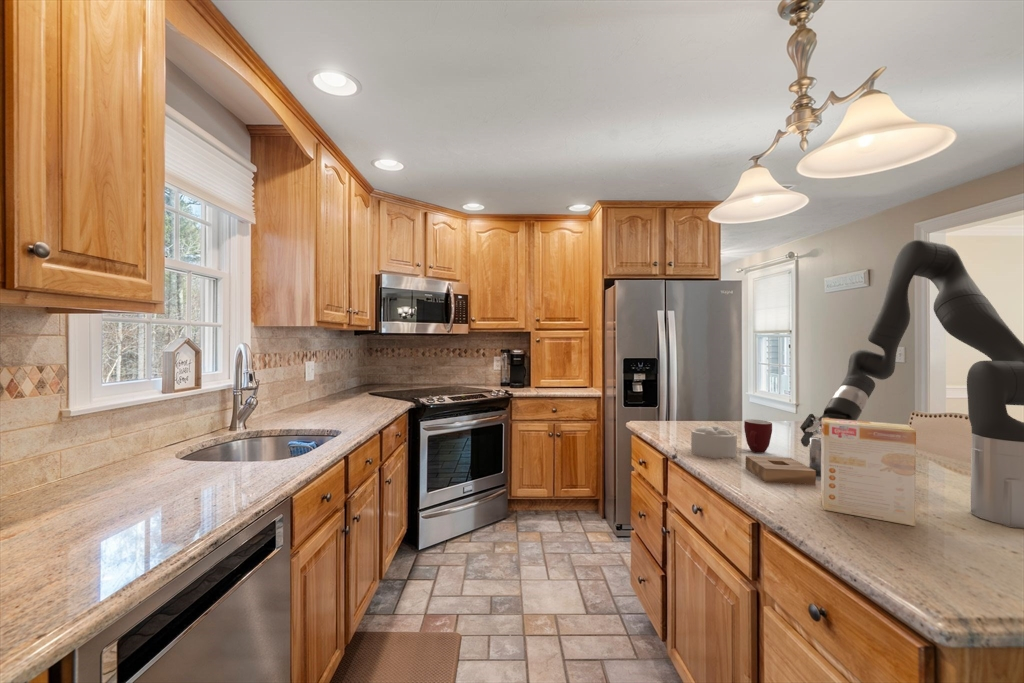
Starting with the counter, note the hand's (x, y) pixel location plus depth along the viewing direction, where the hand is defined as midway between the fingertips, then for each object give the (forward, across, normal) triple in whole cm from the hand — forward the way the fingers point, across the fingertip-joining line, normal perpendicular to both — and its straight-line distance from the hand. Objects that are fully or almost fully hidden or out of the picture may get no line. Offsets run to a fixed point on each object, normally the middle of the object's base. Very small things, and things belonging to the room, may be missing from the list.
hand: (819, 448), depth 114 cm
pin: (+6, 0, +4) cm, 7 cm away
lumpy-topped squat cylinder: (+12, -26, -1) cm, 29 cm away
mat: (+6, 0, +4) cm, 8 cm away
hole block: (+14, -3, -4) cm, 15 cm away
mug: (+1, -23, +10) cm, 25 cm away
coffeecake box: (+18, +20, -7) cm, 27 cm away
